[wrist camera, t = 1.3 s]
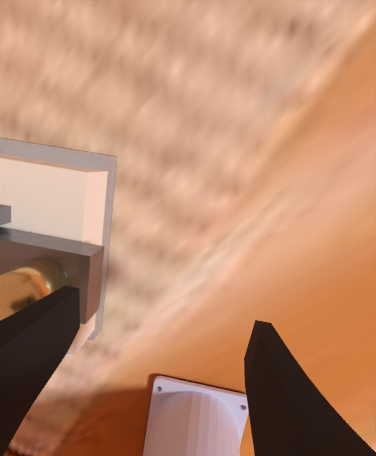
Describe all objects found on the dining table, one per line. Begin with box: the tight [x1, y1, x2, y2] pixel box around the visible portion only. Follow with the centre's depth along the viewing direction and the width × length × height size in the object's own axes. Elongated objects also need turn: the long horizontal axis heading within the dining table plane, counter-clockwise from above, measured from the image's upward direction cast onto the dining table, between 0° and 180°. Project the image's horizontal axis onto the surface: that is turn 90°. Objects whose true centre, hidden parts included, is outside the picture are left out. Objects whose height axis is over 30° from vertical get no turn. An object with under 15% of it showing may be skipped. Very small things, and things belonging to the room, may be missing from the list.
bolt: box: [0, 227, 105, 324], centre depth 14 cm, size 4×9×5 cm, turn 81°
